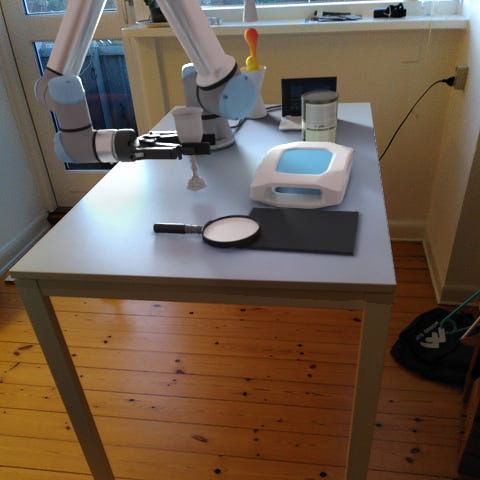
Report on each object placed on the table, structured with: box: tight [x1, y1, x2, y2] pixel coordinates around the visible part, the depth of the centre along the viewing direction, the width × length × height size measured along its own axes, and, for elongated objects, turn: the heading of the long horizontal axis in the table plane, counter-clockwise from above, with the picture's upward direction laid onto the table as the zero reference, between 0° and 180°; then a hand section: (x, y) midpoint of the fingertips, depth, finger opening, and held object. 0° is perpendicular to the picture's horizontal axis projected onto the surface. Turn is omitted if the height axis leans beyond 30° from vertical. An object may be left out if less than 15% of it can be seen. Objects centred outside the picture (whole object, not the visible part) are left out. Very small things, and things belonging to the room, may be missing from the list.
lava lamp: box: [239, 0, 268, 119], centre depth 170 cm, size 9×9×35 cm
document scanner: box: [249, 140, 354, 210], centre depth 127 cm, size 21×28×6 cm
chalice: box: [170, 106, 208, 192], centre depth 122 cm, size 7×7×18 cm
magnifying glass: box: [152, 214, 261, 250], centre depth 110 cm, size 12×24×2 cm, turn 73°
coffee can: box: [301, 90, 340, 144], centre depth 147 cm, size 10×10×14 cm
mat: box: [234, 206, 360, 257], centre depth 110 cm, size 18×24×1 cm
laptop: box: [278, 75, 338, 131], centre depth 164 cm, size 18×12×13 cm
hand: (212, 143), depth 120 cm, fingers closed on chalice, 6 cm apart
